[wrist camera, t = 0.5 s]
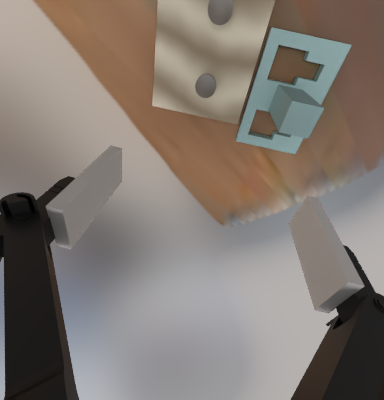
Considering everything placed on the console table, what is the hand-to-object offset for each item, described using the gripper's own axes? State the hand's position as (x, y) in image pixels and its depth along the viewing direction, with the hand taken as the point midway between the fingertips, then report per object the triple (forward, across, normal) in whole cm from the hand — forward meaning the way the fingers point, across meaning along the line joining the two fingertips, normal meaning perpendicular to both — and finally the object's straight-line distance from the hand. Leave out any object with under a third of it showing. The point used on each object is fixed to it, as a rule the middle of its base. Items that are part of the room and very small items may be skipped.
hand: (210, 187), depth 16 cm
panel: (+24, +9, +3) cm, 26 cm away
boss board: (+24, -4, +6) cm, 25 cm away
